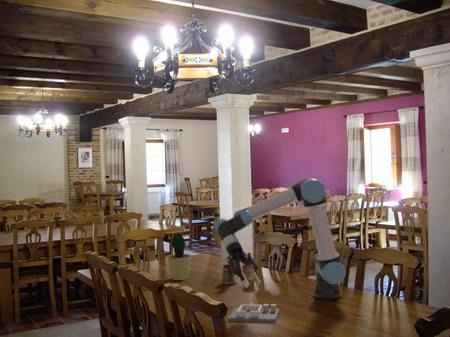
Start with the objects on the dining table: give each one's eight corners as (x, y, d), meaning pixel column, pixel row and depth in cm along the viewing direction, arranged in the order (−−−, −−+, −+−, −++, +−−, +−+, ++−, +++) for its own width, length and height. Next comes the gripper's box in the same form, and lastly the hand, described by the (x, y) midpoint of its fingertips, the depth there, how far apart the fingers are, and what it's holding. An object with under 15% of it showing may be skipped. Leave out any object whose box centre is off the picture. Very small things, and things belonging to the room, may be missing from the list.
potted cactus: (193, 275, 322) (191, 230, 321) (189, 281, 306) (187, 234, 306) (170, 276, 323) (169, 231, 323) (165, 281, 308) (163, 234, 308)
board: (279, 311, 236) (278, 302, 236) (275, 322, 221) (275, 312, 221) (235, 310, 241) (234, 301, 241) (228, 321, 225) (228, 311, 225)
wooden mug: (228, 287, 286) (227, 257, 286) (218, 283, 299) (217, 254, 298) (241, 285, 290) (240, 255, 290) (231, 281, 303) (230, 252, 302)
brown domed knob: (256, 288, 234) (255, 264, 234) (254, 292, 227) (253, 267, 227) (243, 288, 235) (242, 264, 235) (240, 292, 229) (239, 267, 228)
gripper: (244, 248, 249) (265, 285, 235) (214, 253, 239) (233, 292, 225) (250, 238, 244) (272, 276, 231) (219, 243, 234) (239, 283, 221)
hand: (253, 284), depth 228 cm, fingers closed on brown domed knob, 6 cm apart
